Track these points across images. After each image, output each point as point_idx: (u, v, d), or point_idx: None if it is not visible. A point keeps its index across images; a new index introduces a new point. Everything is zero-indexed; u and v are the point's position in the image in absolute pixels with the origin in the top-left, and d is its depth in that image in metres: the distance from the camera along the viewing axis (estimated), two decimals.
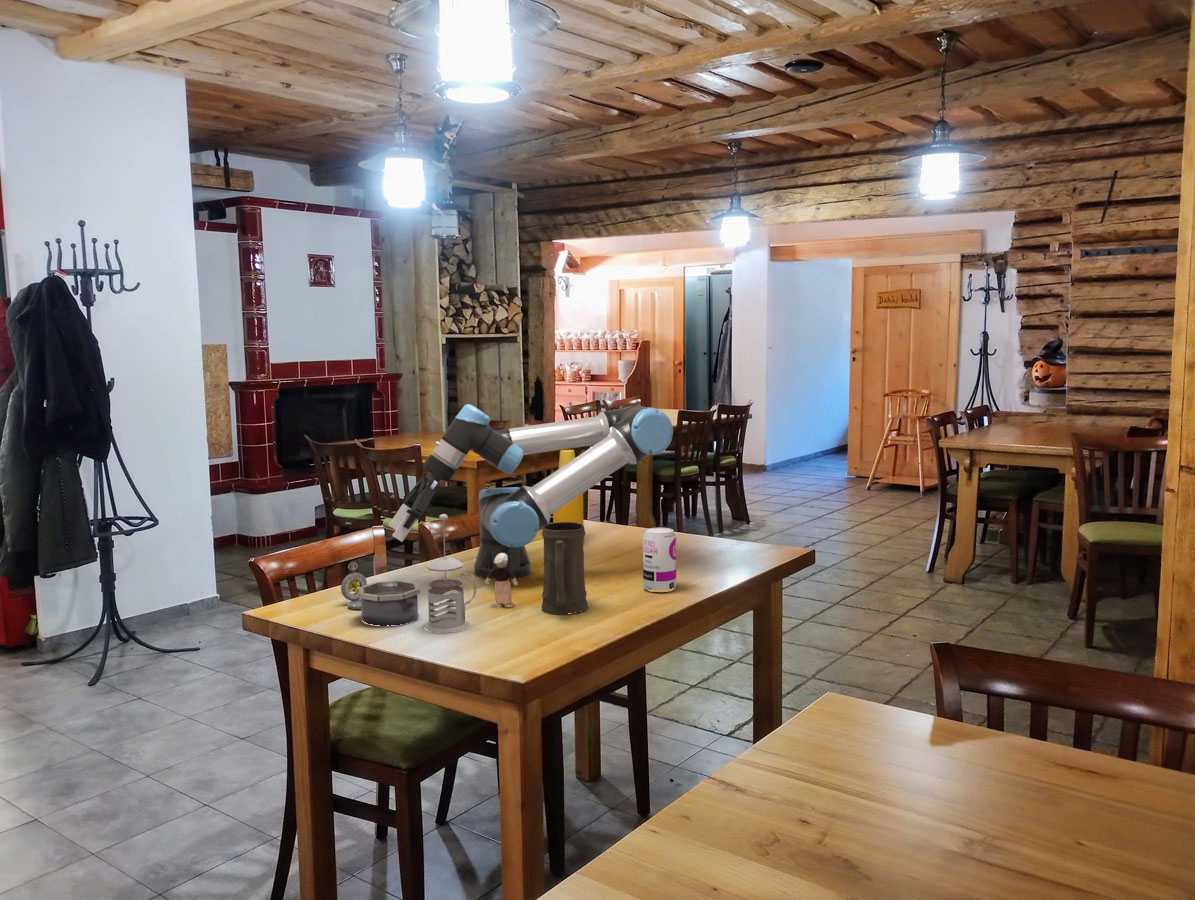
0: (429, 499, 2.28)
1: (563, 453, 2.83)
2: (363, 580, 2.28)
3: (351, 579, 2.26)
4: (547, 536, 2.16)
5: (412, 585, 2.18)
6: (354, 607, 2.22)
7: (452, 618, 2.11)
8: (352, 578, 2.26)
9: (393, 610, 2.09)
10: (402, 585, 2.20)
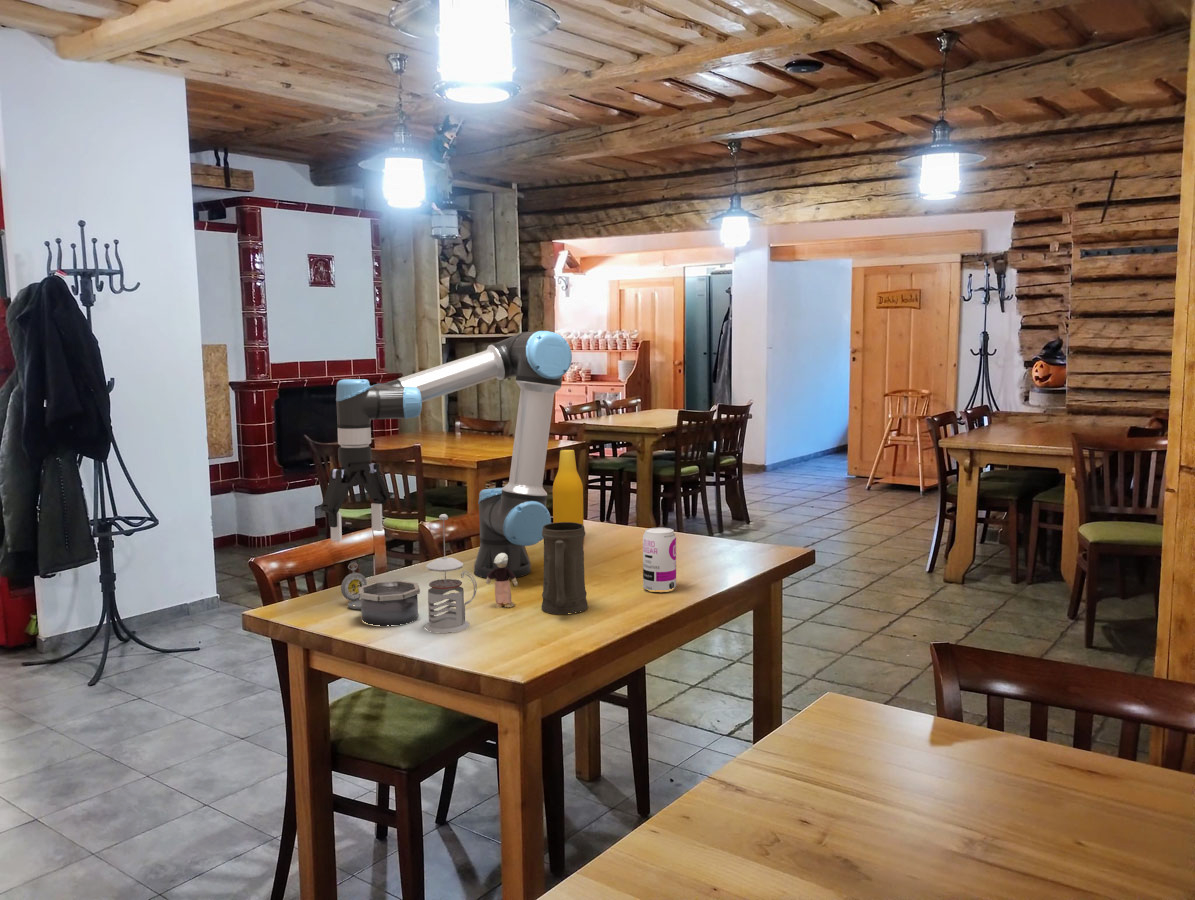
0: (333, 489, 2.15)
1: (563, 453, 2.83)
2: (363, 580, 2.28)
3: (351, 579, 2.26)
4: (547, 536, 2.16)
5: (412, 585, 2.18)
6: (354, 607, 2.22)
7: (452, 618, 2.11)
8: (352, 578, 2.26)
9: (393, 610, 2.09)
10: (402, 585, 2.20)
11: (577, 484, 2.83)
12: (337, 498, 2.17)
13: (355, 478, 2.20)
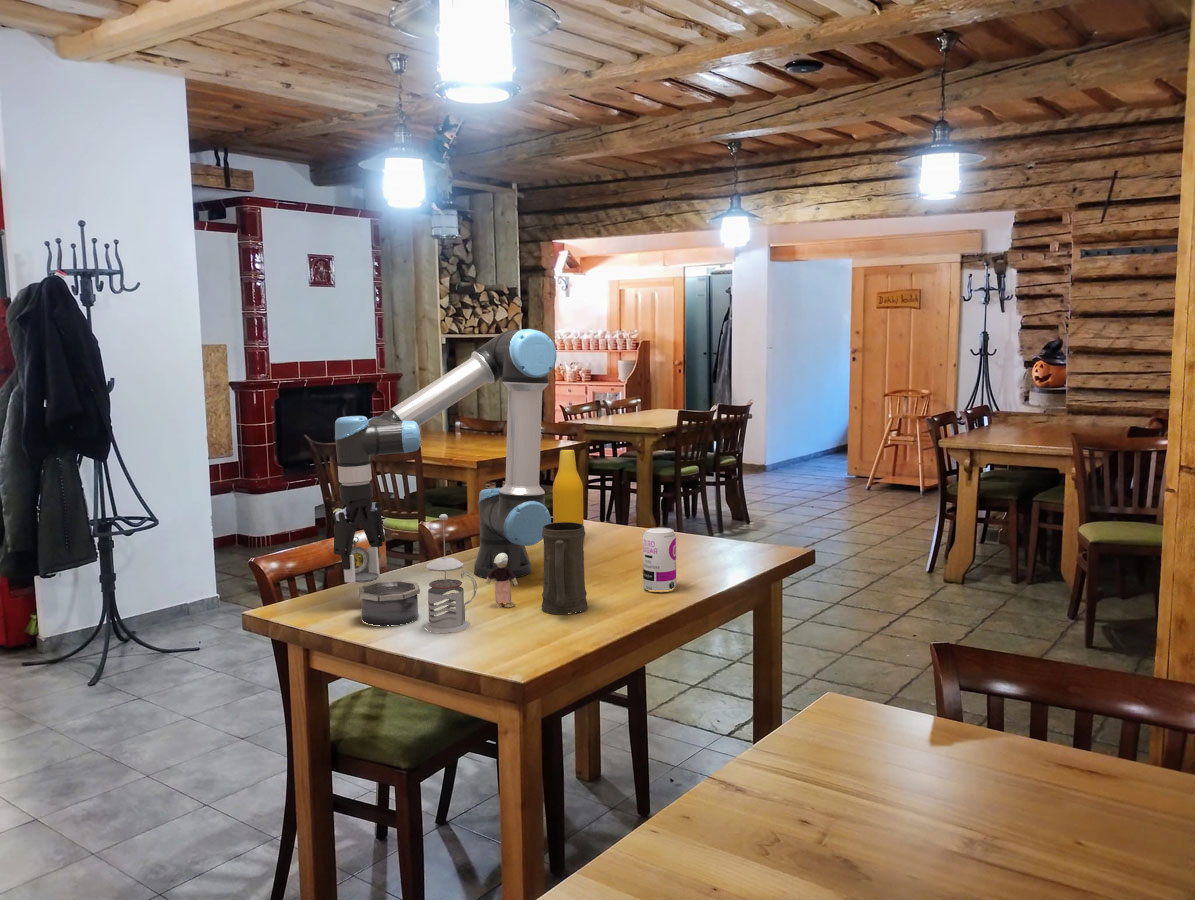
0: (340, 533, 2.18)
1: (563, 453, 2.83)
2: (364, 554, 2.28)
3: (352, 553, 2.26)
4: (547, 536, 2.16)
5: (412, 585, 2.18)
6: (356, 580, 2.22)
7: (452, 618, 2.11)
8: (353, 552, 2.26)
9: (393, 610, 2.09)
10: (402, 585, 2.20)
11: (577, 484, 2.83)
12: (346, 540, 2.20)
13: (358, 515, 2.21)
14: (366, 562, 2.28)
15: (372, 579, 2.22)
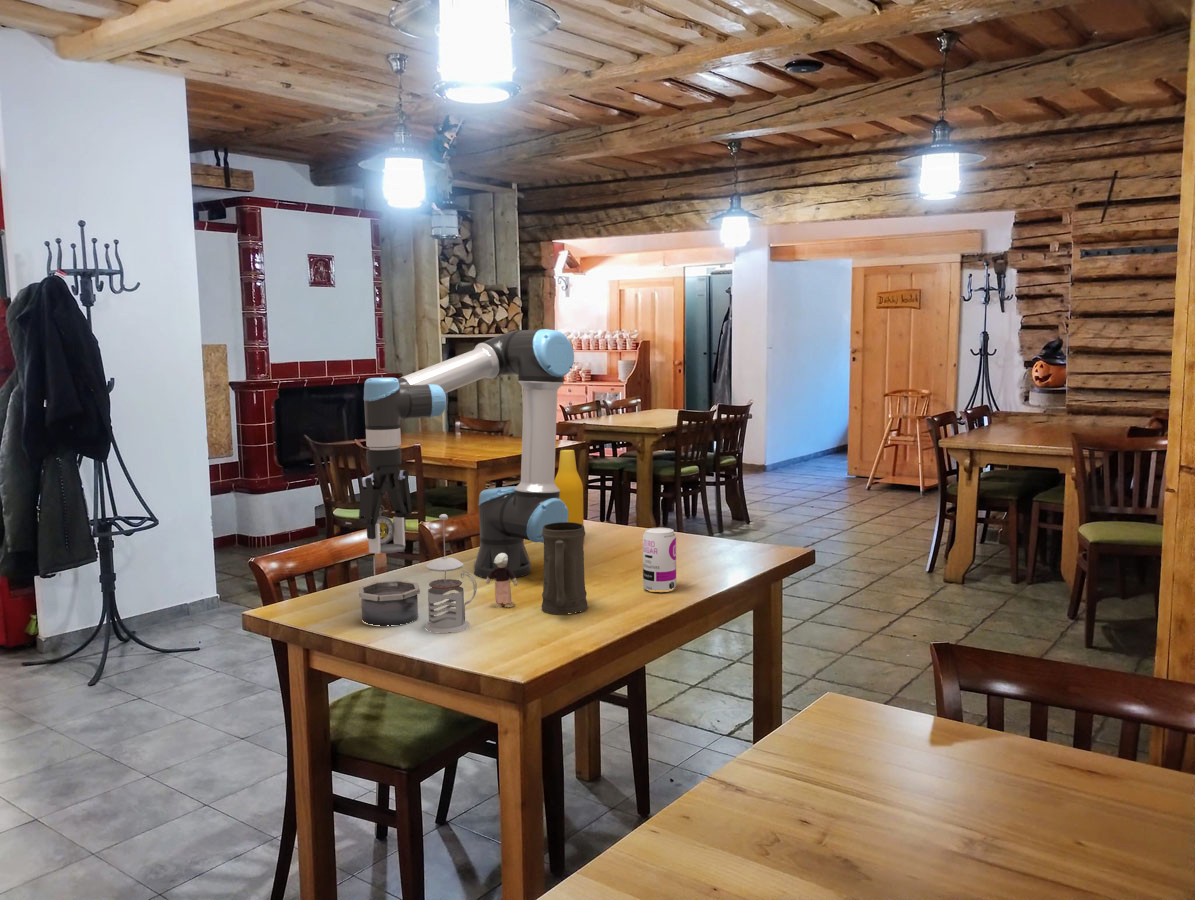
0: (367, 499, 2.06)
1: (563, 453, 2.83)
2: (390, 524, 2.16)
3: (377, 522, 2.13)
4: (547, 536, 2.16)
5: (412, 585, 2.18)
6: (382, 550, 2.10)
7: (452, 618, 2.11)
8: (378, 521, 2.14)
9: (393, 610, 2.09)
10: (402, 585, 2.20)
11: (577, 484, 2.83)
12: (372, 508, 2.08)
13: (386, 482, 2.09)
14: (391, 533, 2.16)
15: (398, 550, 2.10)
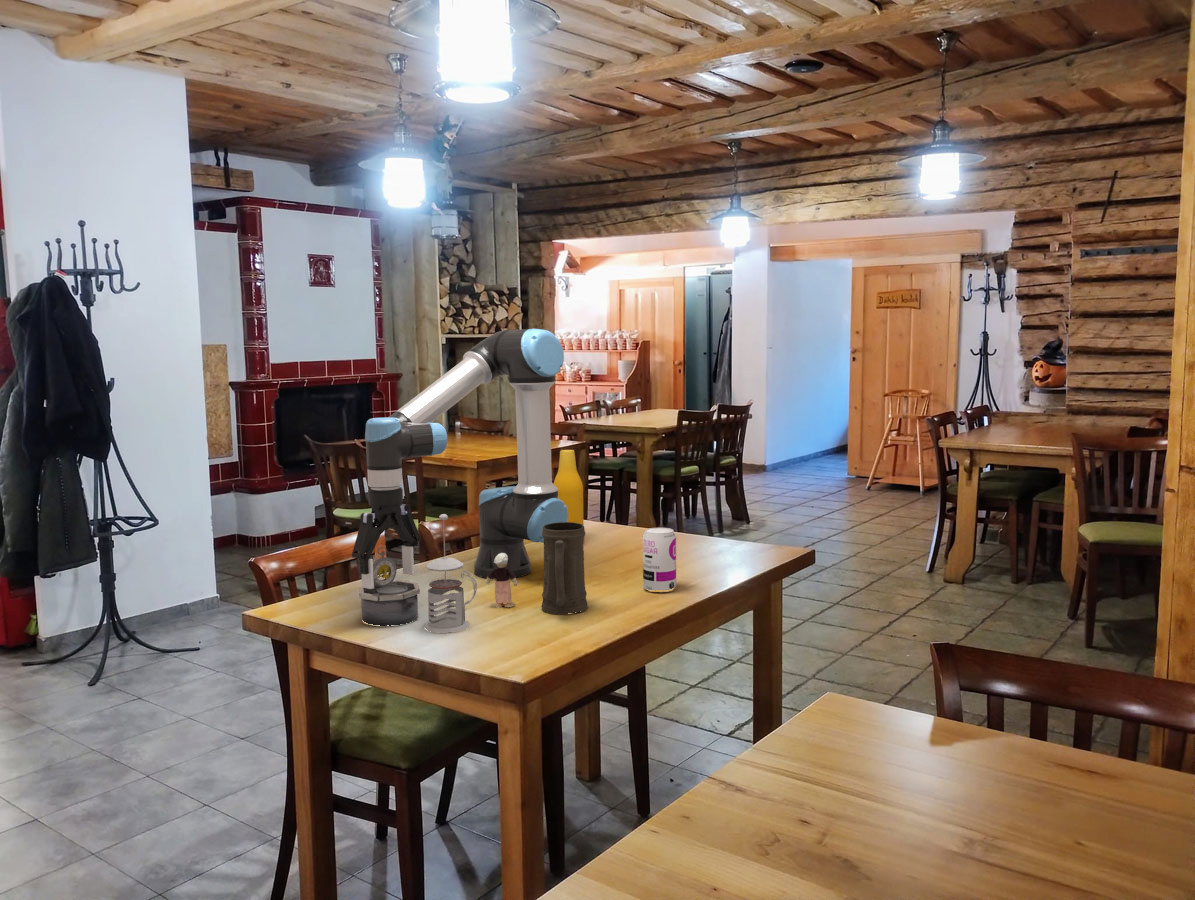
0: (364, 535, 2.06)
1: (563, 453, 2.83)
2: (392, 565, 2.17)
3: (380, 564, 2.15)
4: (547, 536, 2.16)
5: (412, 585, 2.18)
6: (384, 593, 2.11)
7: (452, 618, 2.11)
8: (381, 563, 2.15)
9: (393, 610, 2.09)
10: (402, 585, 2.20)
11: (577, 484, 2.83)
12: (368, 543, 2.08)
13: (386, 522, 2.10)
14: (394, 574, 2.18)
15: (401, 592, 2.12)
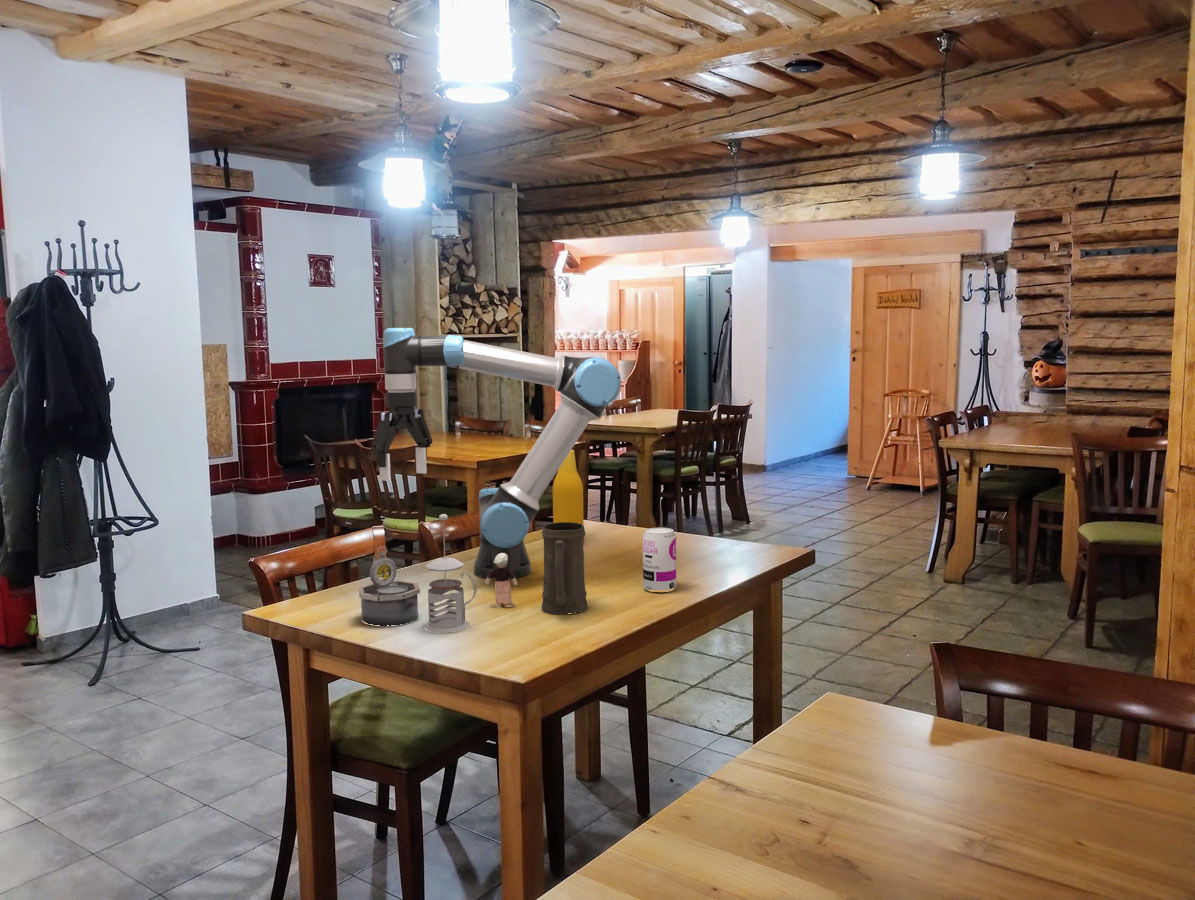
0: (382, 431, 2.28)
1: None
2: (392, 565, 2.17)
3: (380, 564, 2.15)
4: (547, 536, 2.16)
5: (412, 585, 2.18)
6: (384, 593, 2.11)
7: (452, 618, 2.11)
8: (381, 563, 2.15)
9: (393, 610, 2.09)
10: (402, 585, 2.20)
11: (577, 484, 2.83)
12: (386, 440, 2.30)
13: (402, 421, 2.32)
14: (394, 574, 2.18)
15: (401, 592, 2.12)
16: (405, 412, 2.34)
